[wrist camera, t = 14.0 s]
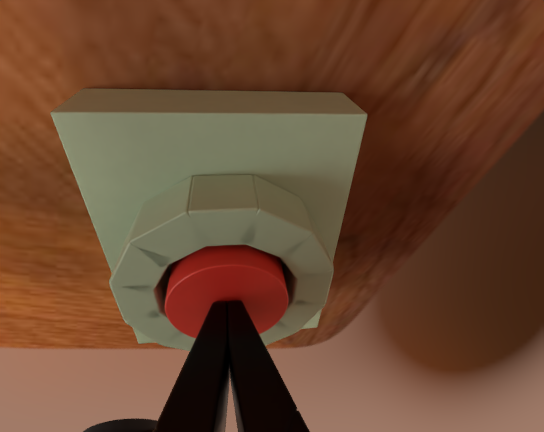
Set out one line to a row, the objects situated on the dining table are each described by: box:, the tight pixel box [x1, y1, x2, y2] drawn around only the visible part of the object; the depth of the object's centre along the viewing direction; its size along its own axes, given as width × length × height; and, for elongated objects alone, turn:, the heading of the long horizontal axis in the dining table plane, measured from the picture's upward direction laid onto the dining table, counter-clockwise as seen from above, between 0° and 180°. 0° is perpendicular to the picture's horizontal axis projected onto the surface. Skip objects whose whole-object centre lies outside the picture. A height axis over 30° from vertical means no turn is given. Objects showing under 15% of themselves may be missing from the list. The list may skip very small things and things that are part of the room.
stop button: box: [165, 244, 289, 338], centre depth 10 cm, size 4×4×2 cm
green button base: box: [51, 88, 367, 351], centre depth 11 cm, size 10×8×4 cm
